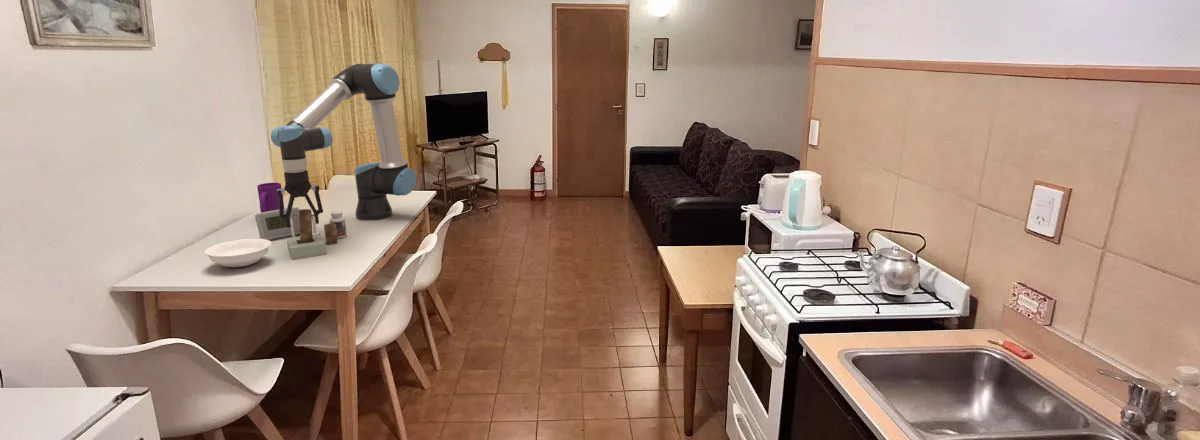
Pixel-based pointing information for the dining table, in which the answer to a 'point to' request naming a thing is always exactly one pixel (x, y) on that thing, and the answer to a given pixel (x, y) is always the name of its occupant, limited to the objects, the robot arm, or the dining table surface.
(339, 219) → the pill bottle
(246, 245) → the bowl
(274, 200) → the mug
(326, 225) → the short dowel
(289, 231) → the digital clock
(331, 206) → the dining table surface
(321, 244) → the hole board
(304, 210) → the long dowel
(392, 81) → the robot arm
